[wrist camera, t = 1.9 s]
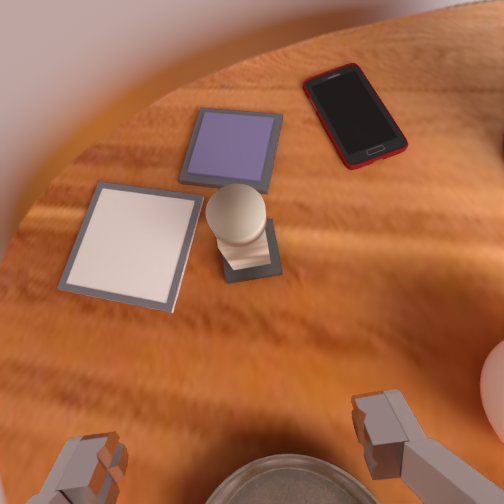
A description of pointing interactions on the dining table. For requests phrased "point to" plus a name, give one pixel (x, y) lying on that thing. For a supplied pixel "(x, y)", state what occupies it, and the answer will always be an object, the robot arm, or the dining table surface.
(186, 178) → the ink pad
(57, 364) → the dining table surface
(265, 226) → the stamp
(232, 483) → the plant saucer
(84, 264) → the marked square
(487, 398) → the lidded bowl
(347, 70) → the cell phone
